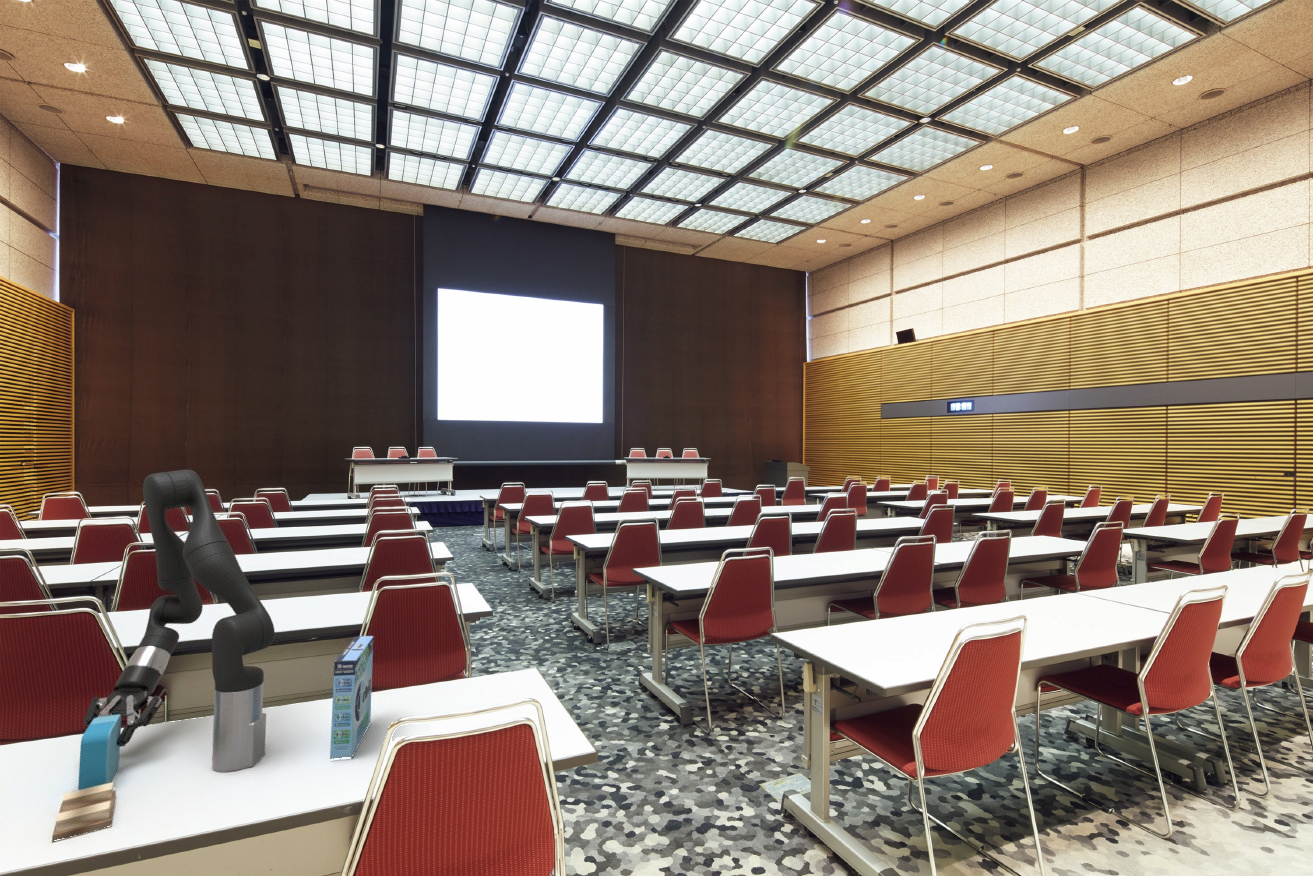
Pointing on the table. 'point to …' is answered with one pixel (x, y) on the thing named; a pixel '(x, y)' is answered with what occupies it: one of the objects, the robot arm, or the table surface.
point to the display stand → (85, 811)
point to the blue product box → (351, 696)
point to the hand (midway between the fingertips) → (104, 745)
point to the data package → (99, 752)
